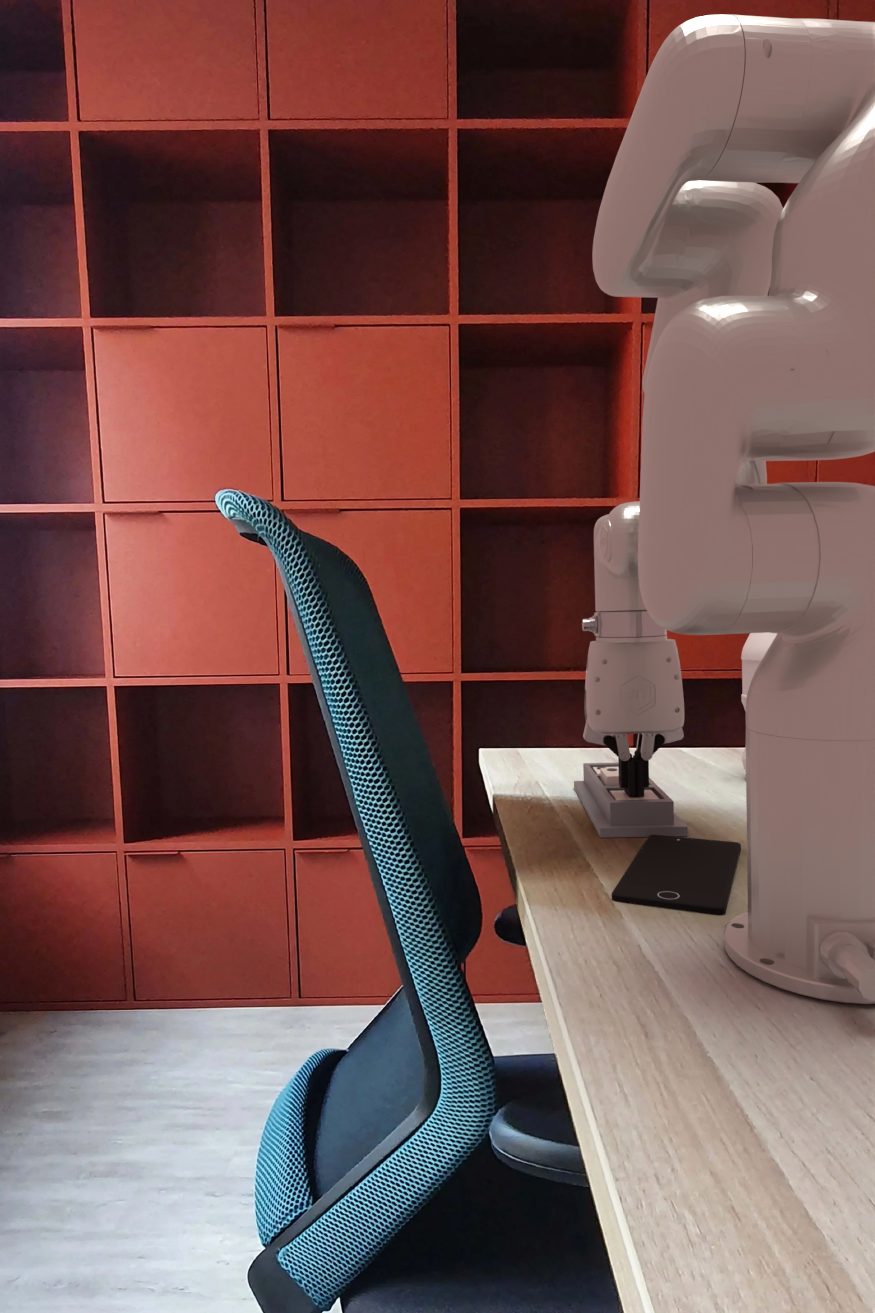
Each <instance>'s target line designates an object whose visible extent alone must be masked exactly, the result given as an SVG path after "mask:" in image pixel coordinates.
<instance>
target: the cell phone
mask: <svg viewBox="0 0 875 1313" xmlns="http://www.w3.org/2000/svg"><path fill="white" fill-rule="evenodd" d="M741 852H742V844H741V842H735V841H730V840H728V841H727V840H717V839H708V838H695V837H687V836H664V835H650V836H649V837H647V838H646V840H645V841H644V843H643V844H642V846H641V847H640V849H639V850H638V852H637V854H636V855H635V857H634V858H633V860H632V861H631V863H630V864H629V866H628V867H627V869H626V870H625V872H624V873H623V875H622V877H621V878H620V880H619V881H618V883H617V884H616V886H615V887H614V889H613V891H612V892H611V900H612V901H613V902H617V903H621V904H622V903H623V904H629V905H630V904H631V905H638V906H644V907H645V906H646V907H652V908H653V907H654V908H660V909H668V910H673V911H674V910H677V911H682V912H683V911H684V912H689V913H696V914H697V913H698V914H706V915H710V916H711V915H713V916H725V915H726V912H727V909H728V904H729V900H730V895H731V893H732V888H733V884H734V879H735V877H736V876H735V875H736V872H737V868H738V862H739V860H740V855H741Z"/></svg>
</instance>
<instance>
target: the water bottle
mask: <svg viewBox="0 0 875 1313" xmlns="http://www.w3.org/2000/svg"><path fill="white" fill-rule="evenodd" d="M776 635H777V633H769V632H767V633H749V635H748V637H747V639H746V641H745V643H744V645H743V647H742V650H741V656H740V659H741V680H742V681H741V683H742V684H741V686H742V691H741V692H742V694H740V695H741V696H740V697H741V704H742V705H743V708H744V711H745V713H746V700H747V694H748V689H749V686H750V683H751V680H752V678H753V675H754V673H755V671H756V669H757V667H758V665H759V664H760V662H761V660H762V658H763V657H764V655H765V654H766V652H767V650H768V649H769V647H770V645H771V644H772V642H773V640H774V639H775V637H776ZM741 759H742V760H741V762H742V765H743V769H744V770H745V772H746V745H745V747H744V750H743V752H742V755H741Z"/></svg>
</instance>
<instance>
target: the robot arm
mask: <svg viewBox="0 0 875 1313" xmlns="http://www.w3.org/2000/svg"><path fill="white" fill-rule="evenodd" d="M633 108H634V109H633V111H632V115H631V117H630V119H629V122H628V125H627V126H626V130H625V132H624V135H623V139H622V141H621V143H620V146H619V149H618V151H617V154H616V156H615V159H614V163H613V165H612V168H611V171H610V174H609V176H608V179H607V182H606V186H605V189H604V192H603V196H602V199H601V203H600V206H599V210H598V214H597V217H596V218H597V219H596V225H595V228H594V235H593V242H592V271H593V274H594V279H595V282H596V283H597V286H598V288H599V289H600V291H602V292H603V293H604V294H607V296H611V297H616V298H617V297H618V298H619V297H620V298H621V297H622V298H657V301H656V307H655V314H654V319H653V325H652V329H651V333H650V334H651V335H650V341H649V345H648V350H647V356H646V361H645V367H644V372H643V376H642V385H641V386H642V391H643V393H644V397H643V399H644V400H643V411H642V427H641V428H642V430H641V432H642V433H641V452H640V453H641V457H640V458H641V460H640V480H639V481H640V482H639V484H640V485H639V486H640V487H639V500H638V501H629V502H624V503H620V504H619V505H617V506H615V507H614V508H613V509H612V510H610V512H609V514H605V515H603V516H601V517H599V518H598V519H597V520H596V522H595V524H594V528H593V558H594V560H593V562H594V566H593V568H594V597H595V598H594V600H595V602H594V604H595V612H594V613H593V615H592V616H590V617H589V618H582V620H581V621H582V622H581V628H582V631H583V632H588V631H589V632H590V633H591V632H592V634H594V637H595V640H592V641H590V642H589V646H588V653H587V659H586V666H585V668H586V669H585V683H584V719H585V726H584V730H583V735H582V737H583V739H584V740H585V742H587V743H591V744H596V745H601V746H606V747H607V748H608V749H609V751H611V752H612V753H613V754H614V755H615V756H617V757H618V759H617V760H618V762H617V763H618V764H619V786H620V788H624V791H625V793H626V794H627V795H628V796H629V797H634V796H636V795H637V796H639V797H644V787H649V778H650V771H649V769H650V766H649V765H650V764H649V763H650V762H649V761H650V760H652V758H653V755H654V754H655V753H656V752H657V751H658V750H659V749H660V748H661V747H662V746H663V745H664V744H670V743H674V742H676V741H681V740H683V738H684V736H685V735H684V729H683V727H684V724H685V701H684V700H685V698H684V689H683V677H682V670H681V663H680V657H679V652H678V651H679V650H678V646H677V642H676V639H671V638H668V631H669V632H671V633H675V634H679V635H687V636H707V635H708V636H710V635H711V636H713V635H714V636H715V635H735V634H736V635H738V634H739V635H740V634H741V635H742V634H750V633H767V632H769V633H777V635H776V637H775V639H774V640H773V642H772V644H771V645H770V647H769V649H768V650H767V652H766V654H765V655H764V657H763V658H762V660H761V662H760V664H759V665H758V667H757V669H756V671H755V673H754V675H753V678H752V680H751V683H750V686H749V689H748V694H747V700H746V712H745V746H746V771H745V776H746V777H745V783H746V784H745V790H746V793H745V795H746V796H745V797H746V799H745V800H746V802H745V803H746V805H745V806H746V864H747V865H746V866H747V869H746V872H747V876H746V877H747V883H746V884H747V911H744V912H741V913H739V914H738V915H736V916H735V917H732V918H731V919H730V920H729V921H728V922H727V923H726V924H725V925H724V926H725V927H724V930H723V931H724V932H723V941H724V942H723V943H724V950H725V951H726V953H727V955H728V957H729V958H730V959H731V961H733V962H734V964H735V965H737V966H738V967H739V968H741V969H742V970H743V971H744V972H746V973H747V974H749V975H750V976H753V977H755V978H756V979H759V980H760V981H762V982H764V983H767V984H769V985H771V986H774V987H776V988H779V989H782V990H784V991H787V992H791V993H794V994H798V995H801V996H805V997H810V998H814V999H819V1000H822V1001H823V1000H824V1001H830V1002H836V1003H837V1002H838V1003H844V1004H855V1005H856V1004H858V1005H875V485H870V484H864V483H860V482H859V483H858V482H849V481H848V482H847V481H844V482H843V481H816V482H815V481H813V482H811V481H810V482H803V481H802V482H775V483H768V473H767V462H776V461H777V462H784V461H785V462H786V461H792V462H793V461H828V460H829V461H830V460H842V459H850V458H857V457H862V456H866V455H869V454H871V453H874V452H875V21H856V20H843V19H841V20H840V19H829V18H828V19H826V18H789V17H777V16H775V17H774V16H759V15H758V16H757V15H746V14H745V15H743V14H742V15H741V14H719V13H718V14H707V15H703V16H702V15H701V16H695V17H694V18H690V19H688V20H686V21H684V22H683V23H681V24H679V25H678V26H676V27H675V28H674V29H673V30H672V31H671V32H670V33H669V35H668V36H667V37H666V38H665V39H664V41H663V42H662V44H661V46H660V48H659V49H658V51H657V52H656V54H655V56H654V58H653V60H652V62H651V64H650V67H649V69H648V72H647V74H646V77H645V79H644V82H643V84H642V87H641V90H640V93H639V95H638V98H637V101H636V104H635V106H634V107H633ZM758 183H760V184H758ZM761 183H762V184H761ZM763 183H779V184H780V183H781V184H782V183H784V184H797V185H796V187H795V188H794V190H793V191H792V193H791V194H790V196H789V197H788V199H787V201H786V203H785V205H784V207H783V205H782V203H781V201H780V198H779V197H778V195H776V194H775V193H774V192H773V191H772V190H771V189H770V188H768V187H766V186H764V185H763ZM635 734H636V735H637V740H636V748H635V751H634V753H633V754H634V755H633V754H632V753H631V751H630V750H631V749H630V747H629V740H628V735H635Z"/></svg>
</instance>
